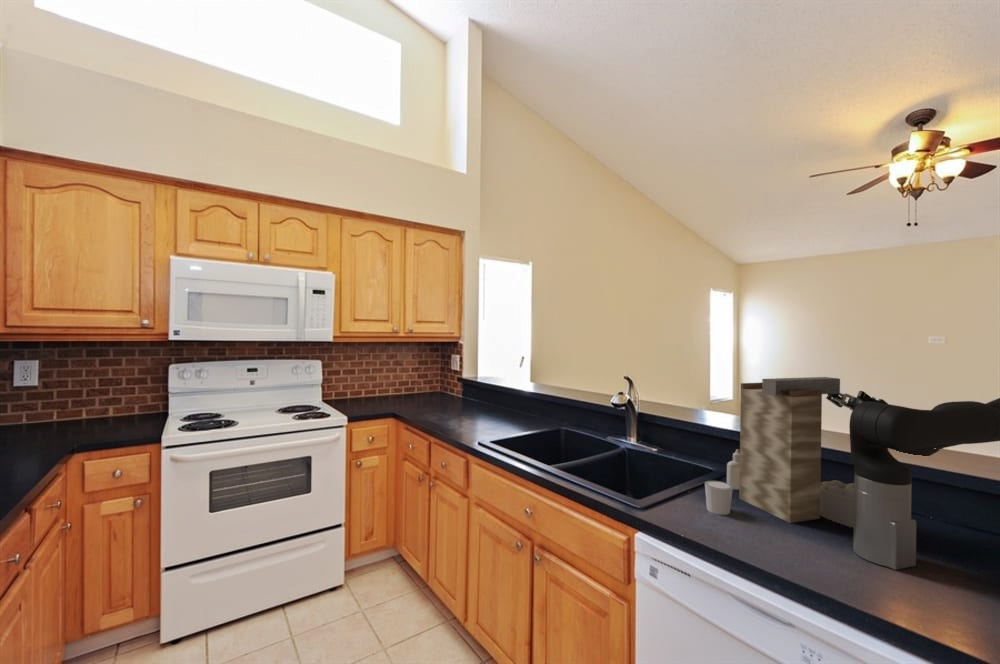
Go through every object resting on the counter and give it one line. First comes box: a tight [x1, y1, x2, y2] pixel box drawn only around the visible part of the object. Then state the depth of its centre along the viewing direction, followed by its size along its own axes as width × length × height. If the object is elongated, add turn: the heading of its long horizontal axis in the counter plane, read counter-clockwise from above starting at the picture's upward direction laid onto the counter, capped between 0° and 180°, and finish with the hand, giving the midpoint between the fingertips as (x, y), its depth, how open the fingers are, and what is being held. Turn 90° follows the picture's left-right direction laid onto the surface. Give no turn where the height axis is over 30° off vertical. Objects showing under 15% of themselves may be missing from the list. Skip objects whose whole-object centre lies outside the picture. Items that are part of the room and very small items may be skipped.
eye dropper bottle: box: [726, 448, 740, 491], centre depth 133 cm, size 4×6×12 cm
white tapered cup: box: [704, 480, 734, 516], centre depth 117 cm, size 7×7×7 cm
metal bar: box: [761, 376, 841, 396], centre depth 115 cm, size 4×22×4 cm, turn 106°
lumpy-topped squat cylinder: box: [820, 479, 855, 529], centre depth 113 cm, size 10×13×9 cm
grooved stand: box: [738, 382, 823, 524], centre depth 118 cm, size 16×10×34 cm, turn 16°
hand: (842, 391), depth 120 cm, fingers open, 8 cm apart
